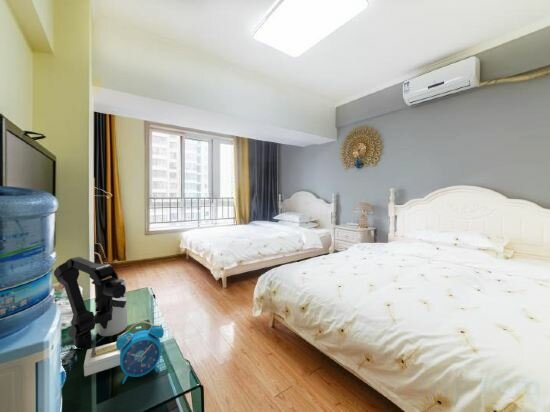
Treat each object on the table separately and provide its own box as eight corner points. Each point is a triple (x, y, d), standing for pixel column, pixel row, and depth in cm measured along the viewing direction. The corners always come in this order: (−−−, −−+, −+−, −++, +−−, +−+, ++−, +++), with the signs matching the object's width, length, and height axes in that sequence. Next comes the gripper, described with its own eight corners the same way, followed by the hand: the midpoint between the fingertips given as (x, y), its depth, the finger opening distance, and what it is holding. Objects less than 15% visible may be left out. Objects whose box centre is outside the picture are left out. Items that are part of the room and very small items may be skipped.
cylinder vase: (132, 323, 131) (131, 279, 129) (115, 337, 119) (113, 288, 117) (111, 322, 132) (109, 278, 131) (92, 336, 120) (89, 287, 118)
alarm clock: (116, 390, 88) (114, 338, 86) (118, 372, 97) (116, 324, 95) (166, 373, 96) (165, 325, 95) (163, 357, 105) (162, 313, 104)
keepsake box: (129, 348, 111) (128, 334, 111) (129, 361, 102) (128, 347, 102) (87, 360, 103) (86, 346, 102) (84, 376, 94) (83, 360, 94)
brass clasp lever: (123, 343, 106) (123, 341, 106) (123, 347, 104) (123, 345, 104) (96, 351, 101) (96, 349, 101) (95, 356, 99) (95, 353, 99)
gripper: (125, 297, 102) (126, 333, 103) (125, 283, 117) (126, 313, 118) (92, 304, 96) (94, 342, 97) (96, 288, 111) (98, 320, 113)
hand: (105, 328), depth 106 cm, fingers closed
